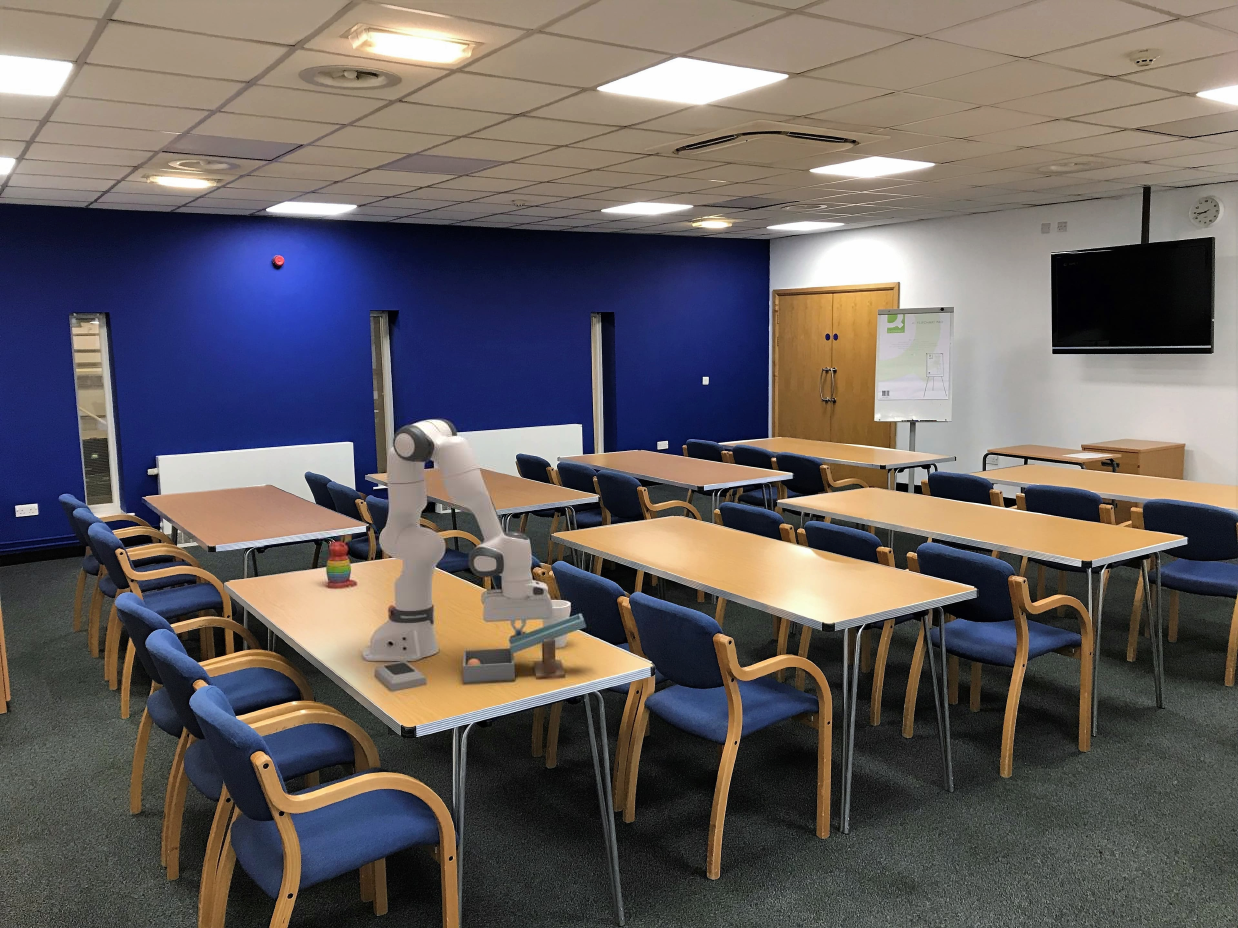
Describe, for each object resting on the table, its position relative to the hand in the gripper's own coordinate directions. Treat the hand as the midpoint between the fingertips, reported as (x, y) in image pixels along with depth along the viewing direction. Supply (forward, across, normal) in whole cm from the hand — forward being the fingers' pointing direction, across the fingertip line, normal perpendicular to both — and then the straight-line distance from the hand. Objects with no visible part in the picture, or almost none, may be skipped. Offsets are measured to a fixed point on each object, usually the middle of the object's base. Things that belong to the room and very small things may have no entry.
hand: (518, 634), depth 269 cm
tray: (+9, -9, -6) cm, 14 cm away
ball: (+6, -13, -6) cm, 16 cm away
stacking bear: (+8, -67, +107) cm, 127 cm away
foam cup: (+9, +12, +18) cm, 23 cm away
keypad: (+9, -33, -8) cm, 35 cm away
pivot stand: (+9, +8, -6) cm, 14 cm away
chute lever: (-1, +8, -3) cm, 9 cm away
